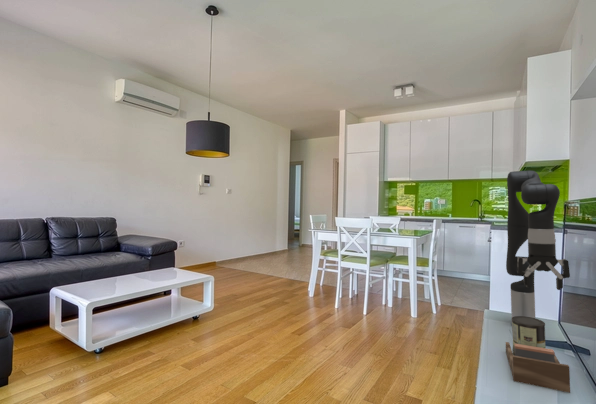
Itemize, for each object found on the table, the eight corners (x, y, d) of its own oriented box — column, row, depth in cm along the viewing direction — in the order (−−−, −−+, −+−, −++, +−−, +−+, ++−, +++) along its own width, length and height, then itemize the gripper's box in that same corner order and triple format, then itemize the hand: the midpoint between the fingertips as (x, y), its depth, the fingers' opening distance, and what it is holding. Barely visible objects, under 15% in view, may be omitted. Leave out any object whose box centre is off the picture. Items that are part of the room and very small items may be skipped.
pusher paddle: (514, 365, 112) (514, 343, 112) (553, 372, 107) (552, 349, 107) (515, 368, 110) (515, 346, 110) (555, 375, 104) (554, 352, 105)
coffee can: (536, 352, 121) (535, 316, 122) (552, 365, 111) (551, 326, 112) (507, 350, 123) (506, 315, 124) (520, 363, 113) (519, 324, 114)
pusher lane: (505, 352, 122) (505, 331, 122) (552, 359, 115) (551, 338, 115) (513, 381, 102) (513, 356, 102) (570, 392, 95) (569, 366, 95)
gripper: (564, 241, 107) (566, 287, 107) (514, 239, 114) (516, 283, 114) (571, 243, 101) (572, 293, 101) (518, 242, 108) (519, 288, 107)
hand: (542, 288), depth 107 cm, fingers open, 8 cm apart
